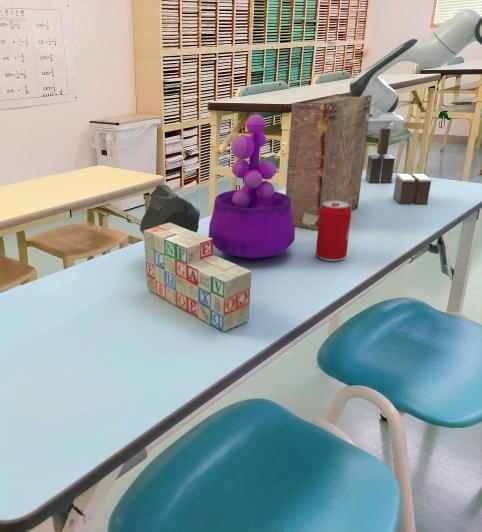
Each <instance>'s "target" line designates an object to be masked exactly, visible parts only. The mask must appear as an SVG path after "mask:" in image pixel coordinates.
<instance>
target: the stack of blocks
mask: <svg viewBox="0 0 482 532" xmlns="http://www.w3.org/2000/svg"><path fill="white" fill-rule="evenodd" d="M143 242H144V245H143V246H144V247H143V248H144V259H145V271H146V275H145V276H146V287H147V290H149V291H151V292H152V293H154V294H155V295H157V296H159V297H160V298H162V299H164V300H166V301H167V302H169V303H170V304H173V305H174V306H177V307H179V308H181V309H182V310H184V311H186V312H188V313H190V314H191V315H193V316H195V317H197V318H198V319H200V320H202V321H203V322H205V323H206V324H208V325H210V326H212V327H214V328H215V329H217V330H219V331H221V332H222V333H224V332H226V331H228V330H230V329H232V328H235V327H237V326H239V325H241V324H244V323H246V322H248V321H249V320H250V303H251V287H252V270H250V269H248V268H245V267H243V266H240V265H238V264H236V263H234V262H231V261H229V260H226V259H225V258H222V257H220V256H217V255H214V245H213V239H212V238H209V236H208V235H203V234H201V233H198V232H197V233H196V232H193V231H190V230H188V229H185V228H182V227H179V226H178V225H175V224H172V223H166V224H163V225H159V226H157V227H153V228H150V229H147V230H144V235H143Z"/></svg>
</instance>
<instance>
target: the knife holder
mask: <svg viewBox="0 0 482 532" xmlns="http://www.w3.org/2000/svg"><path fill="white" fill-rule="evenodd" d="M367 156H368V157H367V163H366V164H367V165H366V171H365V180H366V181H367V182H368V183H369V184H392V181H393V176H394V175H393V174H394V169H395V160H396V158H395V157H394V156H392V155H391V154H384V161H383V169H382V176H381V183H379V180H380V173H381V165H382V158H381V157H380V156H379V154H368V155H367Z"/></svg>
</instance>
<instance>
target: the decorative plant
mask: <svg viewBox="0 0 482 532" xmlns="http://www.w3.org/2000/svg"><path fill="white" fill-rule="evenodd" d="M266 126H267V123H266V120H265V118H264V117H263V116H262V115H260V114H252V115H250V116H249V117H248V118H247V120H246V122H245V128H246V130H247V132H249V133H250V134H249V135H245V134H241V135H240V136H237V137H236V138H234V140H232V143H231V145H230V150H231V153H232V155H233V156H234V157H235V158H237V160H235V161H234V162H233V163H232V165H231V172H232V174H233V175H234V176H235V178H239V179H240V178H243V182H244V185H243V186H241V188H240V189H235V190H228V191H225V192H221V193H219V194H217V196H215V198H214V203H213V210H212V214H211V218H210V221H209V226H208V237H209V238H212V239H213V247H215V248H216V249H217V250H218V251H219V252H221V253H224V254H226V255H230V256H235V257H239V258H245V259H260V258H268V257H272V256H276V255H279V254H281V253H284V252H286V250H287V249H289V248H290V247H291V246H292V244H293V243H294V242H295V240H296V228H295V227H296V226H294V223H293V218H292V210H291V200H290V198H289V197H288V196H286V193H282V192H279V191H275V187H274V185H273V183H271V182H269V181H268V180H272V179H273V177H274V176H275V175H276V174H277V170H278V169H277V166H276V164H275V163H274V162H272V161H270V160H266V161H262V162H261V163H260V148H262V147H264V146H265V145H266V143H267V138H266V135H265V133H264V132H263V131H264V130H265V128H266ZM246 159H249V162H248V161H247V160H246Z"/></svg>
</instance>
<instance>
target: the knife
mask: <svg viewBox="0 0 482 532" xmlns="http://www.w3.org/2000/svg"><path fill="white" fill-rule="evenodd" d="M378 133H379V134H378V142H377V147H376V148H377V150H376V153H377V155H379V156H380V157H381V158H382V165H381V173H380V180H379V183H378V184H382V183H381V176H382V169H383V161H384V155H388V149H389V144H390V143H389V142H390V135H391V131H390V128H380V132H378Z"/></svg>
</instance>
